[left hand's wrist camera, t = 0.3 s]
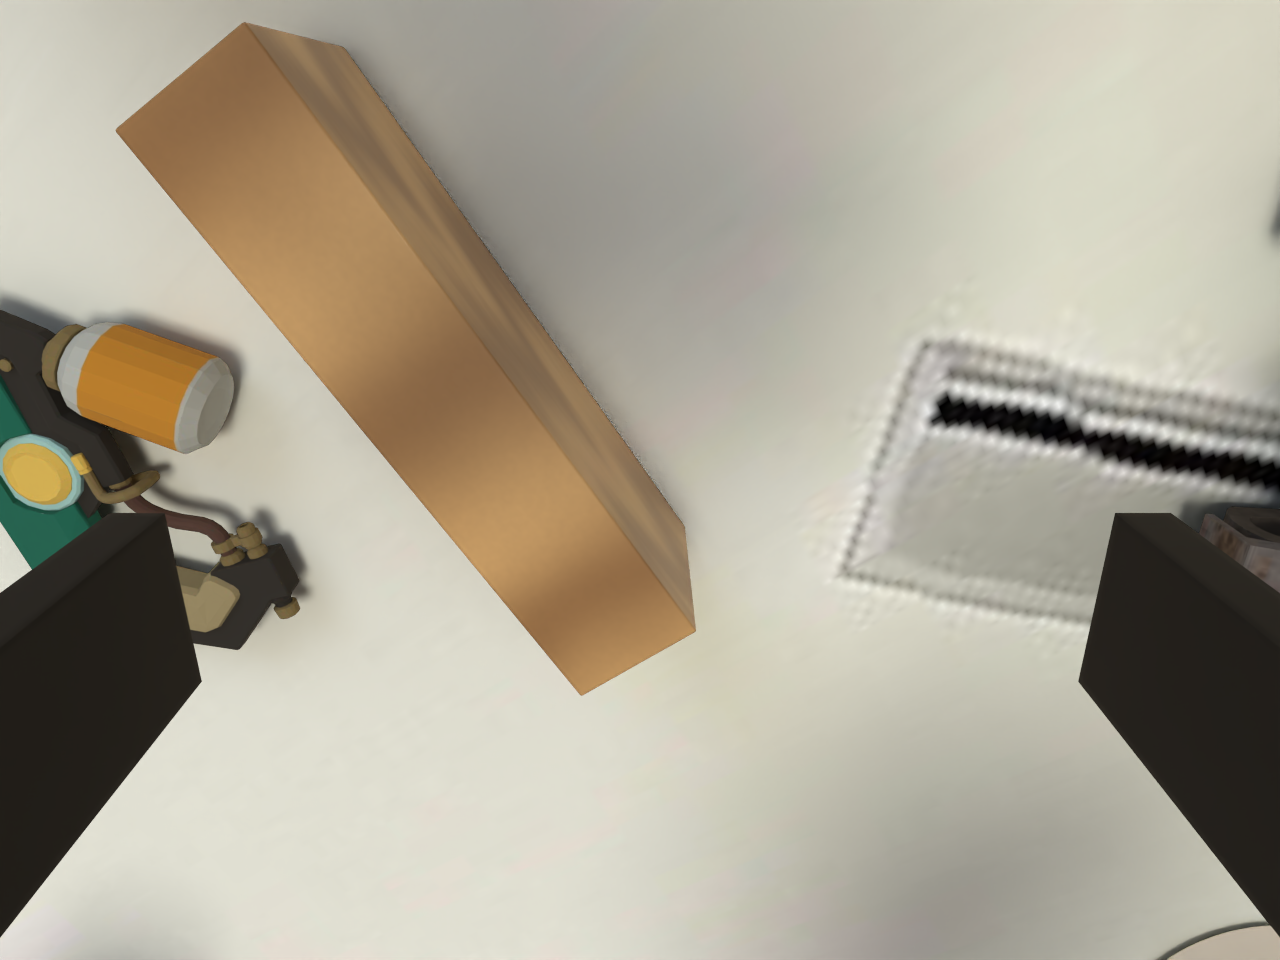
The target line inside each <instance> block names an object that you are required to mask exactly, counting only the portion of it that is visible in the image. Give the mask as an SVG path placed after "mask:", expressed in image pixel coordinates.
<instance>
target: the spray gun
mask: <svg viewBox="0 0 1280 960" xmlns="http://www.w3.org/2000/svg"><path fill="white" fill-rule="evenodd" d="M233 393H234V381H233V377H232V374H231V372H230V370H229V368H228V365H227V364H226V363H225V362H224V361H222V360H221V359H220V358H219V357H217V356H214V355H211V354H208V353H205V352H203V351H200V350H197V349H194V348H191V347H188V346H186V345H183V344H180V343H177V342H174V341H171V340H168V339H166V338H163V337H160V336H157V335H154V334H151V333H149V332H146V331H143V330H140V329H137V328H134V327H131V326H129V325H126V324H120V323H110V322H104V323H98V324H95V325H93V326H91V327H89V328H85V327H83V326H80V325H77V324H75V325H69V326H66V327H65V328H63V329H62V330H60V331H59V332H58V333H57V334H56V335H55V334H54V333H52V332H51V331H49V330H48V329H46V328H43V327H41V326H38V325H36V324H34V323H31V322H29V321H26V320H24V319H21V318H19V317H17V316H14V315H12V314H9V313H7V312H5V311H2V310H0V522H1V524H2V525H3V527H4V528H5V530H6V531H7V533H8V534H9V536H10V537H11V539H12V540H13V542H14V543H15V545H16V546H17V548H18V549H19V551H20V552H21V554H22V555H23V557H24V558H25V560H26V561H27V563H28V564H29V566H30V567H31V569H34V568H35V567H37V566H38V565H39V564H41V563H42V562H43V561H45V560H46V559H47V558H49V557H50V556H52V555H53V554H54V553H56V552H57V551H58V550H60V549H61V548H62V547H64V546H65V545H67V544H68V543H69V542H71V541H72V540H73V539H75V538H76V537H77V536H79V535H80V534H82V533H83V532H84V531H86V530H87V529H88V528H90V527H91V526H92V525H94V524H95V523H97V522H98V521H99V520H101V519H102V518H101V516H100V514H99V512H98V510H97V509H98V508H99V506H100V505H101V503H107V504H114V503H120V502H123V501H124V503H125V504H126V505H127V506H128V507H129V508H131V509H132V510H133V511H135V512H136V513H165V517H166V521H167V526H168V527H172V528H175V529H181V530H188V531H195V532H200V533H203V534H205V535H208V536H209V537H210V538H211V539H212V540H213V542H212V543H211V546H212V548H213V550H214V552H215V553H216V554H221V555H222V556H221V558H220V562H218V563H217V564H216V566H215V567H214V568H213V569H212V570H211V571H210V572H209V573H204V572H200V571H196V570H192V569H188V568H184V567H180V566H176V567H177V571H178V576H179V580H180V585H181V590H182V594H183V599H184V603H185V608H186V612H187V617H188V622H189V626H190V631H191V635H192V640H193V643H195V644H201V645H208V646H215V647H221V648H228V649H235V650H238V649H240V648H241V647H242V646H243V645H244V643H245V642H246V641H247V639H248V638H249V636H250V635H251V633H252V632H253V630H254V629H255V627H256V626H257V624H258V623H259V621H260V620H261V618H262V617H263V615H264V614H265V612H266V611H267V609H268V608H269V606H270V605H271V603H274V604H275V605H276V606H275V607H274V610H275V612H276V613H277V615H278V616H279V618H281V619H287V618H290V617H292V616H294V615H295V614H296V613H297V612H298V611H299V610H300V607H299V604H298V601H297V599H296V598H295V597H291V594H292V591H293V590H294V588H295V587H296V585H297V584H298V582H299V578H298V576H297V574H296V572H295V570H294V569H293V567H292V565H291V563H290V561H289V559H288V557H287V555H286V553H285V551H284V549H283V547H282V545H281V544H276V545H272V546H268V547H266V545H265V544H262V543H261V542H262V535H261V533H260V531H259V529H258V528H255V526H254V524H253V523H251V522H246V523H243V524H241V525H240V526H239V527H238V528H237V531H236V532H237V534H238V535H233V534H230V533H229V534H228V532H227V531H226V530H225V529H224V528H223V527H222V526H221V525H219V524H218V523H216V522H215V521H213V520H210V519H208V518H205V517H200V516H193V515H186V514H180V513H177V512H173V511H169V510H165V509H163V508H160V507H158V506H156V505H153V504H152V503H150V502H148V501H147V500H145V499H144V498H143V497H142V496H141V495H140V494H142V493H143V492H145V491H146V490H147V489H149V488H150V487H151V486H153V485H154V484H155V483H156V482H157V481H158V480H159V478H160V474H159V473H158V471H153V470H149V471H145V472H142V473H138V474H135V475H133V474H134V473H133V472H132V470H131V468H130V466H129V465H128V463H127V461H126V459H125V458H124V456H123V454H122V452H121V451H120V449H119V447H118V446H117V444H116V442H115V440H114V439H113V437H112V435H111V433H110V432H109V430H108V428H106V427H105V426H103V425H101V424H104V425H107V426H110V427H112V428H115V429H118V430H121V431H123V432H126V433H129V434H132V435H134V436H137V437H140V438H142V439H145V440H148V441H151V442H153V443H156V444H159V445H162V446H164V447H167V448H170V449H173V450H175V451H178V452H181V453H183V454H187V453H190V452H192V451H194V450H196V449H199V448H202V447H204V446H207V445H209V444H210V443H211V442H212V441H213V439H214V438H215V437H216V436H217V434H218V433H219V431H220V429H221V428H222V426H223V424H224V422H225V419H226V417H227V415H228V413H229V410H230V406H231V403H232V399H233ZM98 422H99V423H98ZM100 423H101V424H100ZM110 489H113V490H115V491H116V492H111V493H108V492H109V491H110ZM240 545H242V547H245V548H246V549H248V551H247V552H243V550H242V549H239V548H236V546H240Z"/></svg>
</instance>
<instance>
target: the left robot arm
mask: <svg viewBox="0 0 1280 960" xmlns="http://www.w3.org/2000/svg"><path fill="white" fill-rule="evenodd" d="M201 682H202V681H201V676H200V672H199V667H198V663H197V658H196V654H195V649H194V644H193V640H192V635H191V631H190V626H189V622H188V617H187V612H186V608H185V603H184V599H183V594H182V590H181V585H180V580H179V576H178V571H177V567H176V562H175V558H174V553H173V548H172V544H171V539H170V535H169V530H168V526H167V521H166V517H165V513H109V514H107V515H106V516H105V517H103V518H102V519H101V520H99V521H98V522H97V523H95V524H94V525H92V526H91V527H90V528H88V529H87V530H86V531H84V532H83V533H82V534H80V535H79V536H77V537H76V538H75V539H73V540H72V541H71V542H69V543H68V544H67V545H65V546H64V547H62V548H61V549H60V550H58V551H57V552H56V553H54V554H53V555H52V556H50V557H49V558H47V559H46V560H45V561H43V562H42V563H41V564H39V565H38V566H37V567H35V568H34V569H32V570H31V571H30V572H28V573H27V574H26V575H24V576H23V577H21V578H20V579H19V580H17V581H16V582H15V583H13V584H12V585H11V586H9V587H8V588H6V589H5V590H4V591H2V592H1V593H0V937H1V936H2V935H3V933H4V932H5V931H6V929H7V928H8V927H9V926H10V924H11V923H12V922H13V921H14V919H15V918H16V917H17V915H18V914H19V913H20V912H21V910H22V909H23V908H24V907H25V905H26V904H27V903H28V902H29V900H30V899H31V898H32V896H33V895H34V894H35V893H36V891H37V890H38V889H39V888H40V886H41V885H42V884H43V882H44V881H45V880H46V879H47V877H48V876H49V875H50V874H51V872H52V871H53V870H54V868H55V867H56V866H57V865H58V863H59V862H60V861H61V860H62V858H63V857H64V856H65V854H66V853H67V852H68V851H69V849H70V848H71V847H72V846H73V844H74V843H75V842H76V840H77V839H78V838H79V837H80V835H81V834H82V833H83V832H84V830H85V829H86V828H87V827H88V825H89V824H90V823H91V821H92V820H93V819H94V818H95V816H96V815H97V814H98V813H99V811H100V810H101V809H102V807H103V806H104V805H105V804H106V802H107V801H108V800H109V799H110V797H111V796H112V795H113V793H114V792H115V791H116V790H117V788H118V787H119V786H120V785H121V783H122V782H123V781H124V779H125V778H126V777H127V776H128V774H129V773H130V772H131V771H132V769H133V768H134V767H135V766H136V764H137V763H138V762H139V760H140V759H141V758H142V757H143V755H144V754H145V753H146V752H147V750H148V749H149V748H150V746H151V745H152V744H153V743H154V741H155V740H156V739H157V738H158V736H159V735H160V734H161V732H162V731H163V730H164V729H165V727H166V726H167V725H168V724H169V722H170V721H171V720H172V718H173V717H174V716H175V715H176V713H177V712H178V711H179V710H180V708H181V707H182V706H183V704H184V703H185V702H186V701H187V699H188V698H189V697H190V696H191V694H192V693H193V692H194V691H195V689H196V688H197V687H198V685H199V684H200V683H201ZM1078 682H1079V683H1080V684H1081V685H1082V687H1083V688H1084V689H1085V691H1086V692H1087V693H1088V694H1089V696H1090V697H1091V698H1092V699H1093V701H1094V702H1095V703H1096V704H1097V706H1098V707H1099V708H1100V710H1101V711H1102V712H1103V713H1104V715H1105V716H1106V717H1107V718H1108V720H1109V721H1110V722H1111V724H1112V725H1113V726H1114V727H1115V729H1116V730H1117V731H1118V732H1119V734H1120V735H1121V736H1122V738H1123V739H1124V740H1125V741H1126V743H1127V744H1128V745H1129V746H1130V748H1131V749H1132V750H1133V752H1134V753H1135V754H1136V755H1137V757H1138V758H1139V759H1140V760H1141V762H1142V763H1143V764H1144V766H1145V767H1146V768H1147V769H1148V771H1149V772H1150V773H1151V774H1152V776H1153V777H1154V778H1155V779H1156V781H1157V782H1158V783H1159V785H1160V786H1161V787H1162V788H1163V790H1164V791H1165V792H1166V793H1167V795H1168V796H1169V797H1170V799H1171V800H1172V801H1173V802H1174V804H1175V805H1176V806H1177V807H1178V809H1179V810H1180V811H1181V813H1182V814H1183V815H1184V816H1185V818H1186V819H1187V820H1188V821H1189V823H1190V824H1191V825H1192V827H1193V828H1194V829H1195V830H1196V832H1197V833H1198V834H1199V835H1200V837H1201V838H1202V839H1203V840H1204V842H1205V843H1206V844H1207V846H1208V847H1209V848H1210V849H1211V851H1212V852H1213V853H1214V854H1215V856H1216V857H1217V858H1218V860H1219V861H1220V862H1221V863H1222V865H1223V866H1224V867H1225V868H1226V870H1227V871H1228V872H1229V874H1230V875H1231V876H1232V877H1233V879H1234V880H1235V881H1236V882H1237V884H1238V885H1239V886H1240V888H1241V889H1242V890H1243V891H1244V893H1245V894H1246V895H1247V896H1248V898H1249V899H1250V900H1251V902H1252V903H1253V904H1254V905H1255V907H1256V908H1257V909H1258V910H1259V912H1260V913H1261V914H1262V915H1263V917H1264V918H1265V919H1266V921H1267V922H1268V923H1269V924H1270V926H1271V927H1272V928H1273V929H1274V931H1275V932H1276V933H1277V935H1278V936H1279V937H1280V593H1279V592H1278V591H1276V590H1275V589H1274V588H1272V587H1271V586H1269V585H1268V584H1267V583H1265V582H1264V581H1263V580H1261V579H1260V578H1259V577H1257V576H1256V575H1254V574H1253V573H1252V572H1250V571H1249V570H1248V569H1246V568H1245V567H1243V566H1242V565H1241V564H1239V563H1238V562H1237V561H1235V560H1234V559H1233V558H1231V557H1230V556H1228V555H1227V554H1226V553H1224V552H1223V551H1222V550H1220V549H1219V548H1218V547H1216V546H1215V545H1213V544H1212V543H1211V542H1209V541H1208V540H1207V539H1205V538H1204V537H1203V536H1201V535H1200V534H1198V533H1197V532H1196V531H1194V530H1193V529H1192V528H1190V527H1189V526H1188V525H1186V524H1185V523H1183V522H1182V521H1181V520H1179V519H1178V518H1177V517H1175V516H1174V515H1173V514H1171V513H1115V517H1114V521H1113V526H1112V530H1111V535H1110V539H1109V544H1108V548H1107V553H1106V558H1105V562H1104V567H1103V571H1102V576H1101V580H1100V585H1099V590H1098V594H1097V599H1096V603H1095V608H1094V612H1093V617H1092V622H1091V626H1090V631H1089V635H1088V640H1087V644H1086V649H1085V654H1084V658H1083V663H1082V667H1081V672H1080V676H1079V681H1078Z"/></svg>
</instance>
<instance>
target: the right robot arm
mask: <svg viewBox="0 0 1280 960" xmlns="http://www.w3.org/2000/svg"><path fill="white" fill-rule="evenodd" d="M1167 960H1280V937H1279V936H1278V935H1277V933H1276V932H1275V931H1274V929H1273V928H1272V927H1271V926H1270V925H1268V926H1256V927H1248V928H1243V929H1238V930H1233V931H1229V932H1225V933H1222V934H1218V935H1215V936H1212V937H1210V938H1207V939H1204V940H1202V941H1200V942H1197V943H1195V944H1193V945H1191V946H1189V947H1187V948H1185V949H1183V950H1181V951H1179V952H1178V953H1176V954H1174V955H1173V956H1171V957H1170V958H1168V959H1167Z"/></svg>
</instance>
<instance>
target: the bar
mask: <svg viewBox="0 0 1280 960" xmlns="http://www.w3.org/2000/svg"><path fill="white" fill-rule="evenodd" d="M116 132H117V133H118V135H119V136H120V137H121V138H122V140H123V141H124V142H125V143H126V144H127V146H128V147H129V148H130V149H131V150H132V152H133V153H134V154H135V155H136V157H137V158H138V159H139V160H140V161H141V163H142V164H143V165H144V166H145V167H146V169H147V170H148V171H149V172H150V174H151V175H152V176H153V177H154V178H155V180H156V181H157V182H158V183H159V184H160V186H161V187H162V188H163V189H164V190H165V192H166V193H167V194H168V195H169V197H170V198H171V199H172V200H173V201H174V203H175V204H176V205H177V206H178V207H179V209H180V210H181V211H182V212H183V214H184V215H185V216H186V217H187V218H188V220H189V221H190V222H191V223H192V224H193V226H194V227H195V228H196V229H197V231H198V232H199V233H200V234H201V235H202V237H203V238H204V239H205V240H206V241H207V243H208V244H209V245H210V246H211V248H212V249H213V250H214V251H215V252H216V254H217V255H218V256H219V257H220V258H221V260H222V261H223V262H224V263H225V265H226V266H227V267H228V268H229V269H230V271H231V272H232V273H233V274H234V275H235V277H236V278H237V279H238V280H239V281H240V283H241V284H242V285H243V286H244V288H245V289H246V290H247V291H248V292H249V294H250V295H251V296H252V297H253V298H254V300H255V301H256V302H257V303H258V305H259V306H260V307H261V308H262V309H263V311H264V312H265V313H266V314H267V315H268V317H269V318H270V319H271V320H272V322H273V323H274V324H275V325H276V326H277V328H278V329H279V330H280V331H281V332H282V334H283V335H284V336H285V337H286V339H287V340H288V341H289V342H290V343H291V345H292V346H293V347H294V348H295V349H296V351H297V352H298V353H299V354H300V356H301V357H302V358H303V359H304V360H305V362H306V363H307V364H308V365H309V366H310V368H311V369H312V370H313V371H314V372H315V374H316V375H317V376H318V377H319V379H320V380H321V381H322V382H323V383H324V385H325V386H326V387H327V388H328V389H329V391H330V392H331V393H332V394H333V396H334V397H335V398H336V399H337V400H338V402H339V403H340V404H341V405H342V406H343V408H344V409H345V410H346V411H347V413H348V414H349V415H350V416H351V417H352V419H353V420H354V421H355V422H356V423H357V425H358V426H359V427H360V428H361V430H362V431H363V432H364V433H365V434H366V436H367V437H368V438H369V439H370V440H371V442H372V443H373V444H374V445H375V447H376V448H377V449H378V450H379V451H380V453H381V454H382V455H383V456H384V457H385V459H386V460H387V461H388V462H389V463H390V465H391V466H392V467H393V468H394V470H395V471H396V472H397V473H398V474H399V476H400V477H401V478H402V479H403V480H404V482H405V483H406V484H407V485H408V487H409V488H410V489H411V490H412V491H413V493H414V494H415V495H416V496H417V497H418V499H419V500H420V501H421V502H422V504H423V505H424V506H425V507H426V508H427V510H428V511H429V512H430V513H431V514H432V516H433V517H434V518H435V519H436V521H437V522H438V523H439V524H440V525H441V527H442V528H443V529H444V530H445V531H446V533H447V534H448V535H449V536H450V537H451V539H452V540H453V541H454V542H455V544H456V545H457V546H458V547H459V548H460V550H461V551H462V552H463V553H464V554H465V556H466V557H467V558H468V559H469V561H470V562H471V563H472V564H473V565H474V567H475V568H476V569H477V570H478V571H479V573H480V574H481V575H482V576H483V578H484V579H485V580H486V581H487V582H488V584H489V585H490V586H491V587H492V588H493V590H494V591H495V592H496V593H497V595H498V596H499V597H500V598H501V599H502V601H503V602H504V603H505V604H506V605H507V607H508V608H509V609H510V610H511V612H512V613H513V614H514V615H515V616H516V618H517V619H518V620H519V621H520V622H521V624H522V625H523V626H524V627H525V628H526V630H527V631H528V632H529V633H530V635H531V636H532V637H533V638H534V639H535V641H536V642H537V643H538V644H539V645H540V647H541V648H542V649H543V650H544V652H545V653H546V654H547V655H548V656H549V658H550V659H551V660H552V661H553V662H554V664H555V665H556V666H557V667H558V669H559V670H560V671H561V672H562V673H563V675H564V676H565V677H566V678H567V679H568V681H569V682H570V683H571V684H572V686H573V687H574V688H575V689H576V690H577V692H578V693H579V694H580V695H584V694H586V693H588V692H589V691H591V690H593V689H595V688H596V687H598V686H600V685H602V684H603V683H605V682H607V681H609V680H611V679H612V678H614V677H616V676H618V675H619V674H621V673H623V672H625V671H627V670H628V669H630V668H632V667H634V666H635V665H637V664H639V663H641V662H642V661H644V660H646V659H648V658H650V657H651V656H653V655H655V654H657V653H658V652H660V651H662V650H664V649H666V648H667V647H669V646H671V645H673V644H674V643H676V642H678V641H680V640H681V639H683V638H685V637H687V636H689V635H690V634H692V633H694V632H695V631H696V626H695V617H694V608H693V599H692V590H691V581H690V572H689V563H688V553H687V544H686V535H685V527H684V525H683V524H682V522H681V521H680V519H679V518H678V517H677V515H676V514H675V512H674V511H673V510H672V508H671V507H670V505H669V504H668V503H667V501H666V500H665V498H664V497H663V496H662V494H661V493H660V491H659V490H658V489H657V487H656V486H655V484H654V483H653V482H652V480H651V479H650V477H649V476H648V474H647V473H646V472H645V470H644V469H643V467H642V466H641V465H640V463H639V462H638V460H637V459H636V458H635V456H634V455H633V453H632V452H631V451H630V449H629V448H628V446H627V445H626V444H625V442H624V441H623V439H622V438H621V437H620V435H619V434H618V432H617V431H616V429H615V428H614V427H613V425H612V424H611V422H610V421H609V420H608V418H607V417H606V415H605V414H604V413H603V411H602V410H601V408H600V407H599V406H598V404H597V403H596V401H595V400H594V399H593V397H592V396H591V394H590V393H589V391H588V390H587V389H586V387H585V386H584V384H583V383H582V382H581V380H580V379H579V377H578V376H577V375H576V373H575V372H574V370H573V369H572V368H571V366H570V365H569V363H568V362H567V361H566V359H565V358H564V356H563V355H562V354H561V352H560V351H559V349H558V348H557V346H556V345H555V344H554V342H553V341H552V339H551V338H550V337H549V335H548V334H547V332H546V331H545V330H544V328H543V327H542V325H541V324H540V323H539V321H538V320H537V318H536V317H535V316H534V314H533V313H532V311H531V310H530V309H529V307H528V306H527V304H526V303H525V301H524V300H523V299H522V297H521V296H520V294H519V293H518V292H517V290H516V289H515V287H514V286H513V285H512V283H511V282H510V280H509V279H508V278H507V276H506V275H505V273H504V272H503V271H502V269H501V268H500V266H499V265H498V264H497V262H496V261H495V259H494V258H493V256H492V255H491V254H490V252H489V251H488V249H487V248H486V247H485V245H484V244H483V242H482V241H481V240H480V238H479V237H478V235H477V234H476V233H475V231H474V230H473V228H472V227H471V226H470V224H469V223H468V221H467V220H466V218H465V217H464V216H463V214H462V213H461V211H460V210H459V209H458V207H457V206H456V204H455V203H454V202H453V200H452V199H451V197H450V196H449V195H448V193H447V192H446V190H445V189H444V188H443V186H442V185H441V183H440V182H439V181H438V179H437V178H436V176H435V175H434V173H433V172H432V171H431V169H430V168H429V166H428V165H427V164H426V162H425V161H424V159H423V158H422V157H421V155H420V154H419V152H418V151H417V150H416V148H415V147H414V145H413V144H412V143H411V141H410V140H409V138H408V137H407V136H406V134H405V133H404V131H403V130H402V128H401V127H400V126H399V124H398V123H397V121H396V120H395V119H394V117H393V116H392V114H391V113H390V112H389V110H388V109H387V107H386V106H385V105H384V103H383V102H382V100H381V99H380V98H379V96H378V95H377V93H376V92H375V91H374V89H373V88H372V86H371V85H370V83H369V82H368V81H367V79H366V78H365V76H364V75H363V74H362V72H361V71H360V69H359V68H358V67H357V65H356V64H355V62H354V61H353V60H352V58H351V57H350V55H349V54H348V53H347V51H346V50H345V48H343V47H341V46H337V45H333V44H329V43H325V42H321V41H317V40H313V39H309V38H305V37H301V36H297V35H293V34H289V33H285V32H282V31H278V30H274V29H270V28H266V27H262V26H258V25H254V24H250V23H246V22H244V23H242V24H241V25H239V26H238V27H237V28H236V29H235V30H233V31H232V32H231V33H230V34H229V35H228V36H226V37H225V38H224V39H223V40H222V41H220V42H219V43H218V44H217V45H216V46H214V47H213V48H212V49H211V50H210V51H208V52H207V53H206V54H205V55H204V56H202V57H201V58H200V59H199V60H198V61H196V62H195V63H194V64H193V65H192V66H191V67H189V68H188V69H187V70H186V71H185V72H183V73H182V74H181V75H180V76H179V77H177V78H176V79H175V80H174V81H173V82H171V83H170V84H169V85H168V86H167V87H165V88H164V89H163V90H162V91H161V92H159V93H158V94H157V95H156V96H155V97H154V98H152V99H151V100H150V101H149V102H148V103H146V104H145V105H144V106H143V107H142V108H140V109H139V110H138V111H137V112H136V113H134V114H133V115H132V116H131V117H130V118H128V119H127V120H126V121H125V122H124V123H122V124H121V125H120V126H119V127H118V128H117V129H116Z"/></svg>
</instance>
